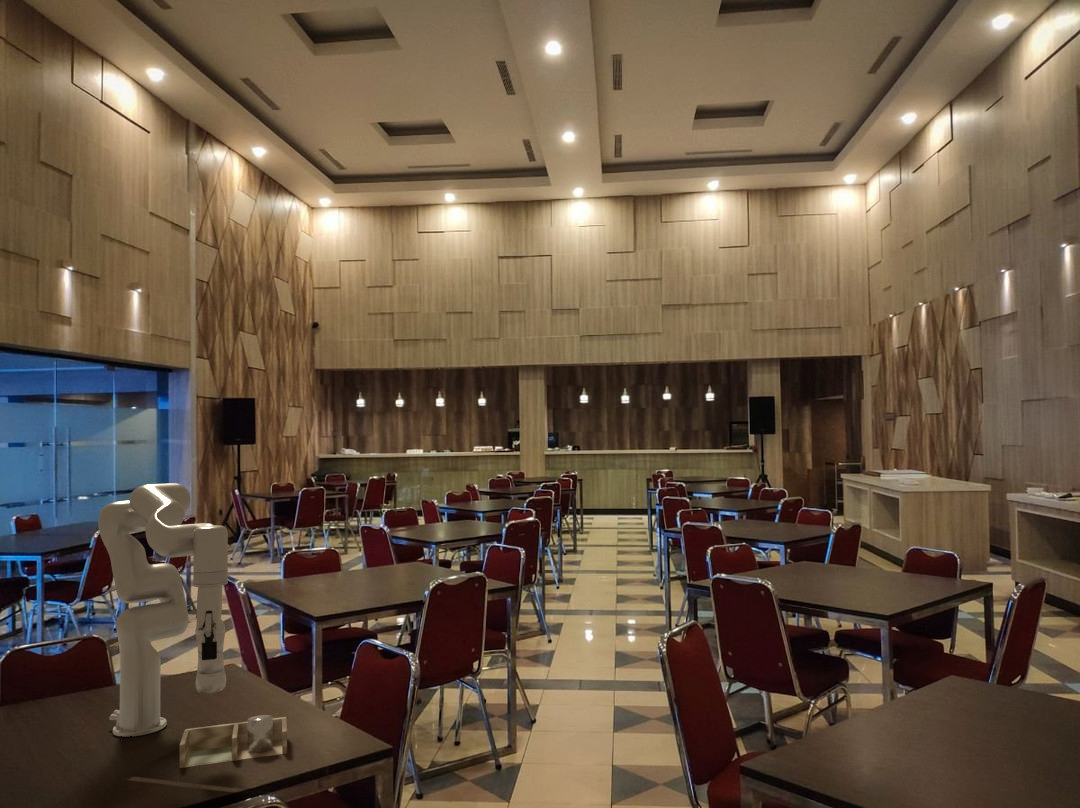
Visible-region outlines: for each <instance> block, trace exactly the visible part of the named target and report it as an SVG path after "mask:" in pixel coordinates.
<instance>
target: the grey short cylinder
mask: <svg viewBox="0 0 1080 808" xmlns="http://www.w3.org/2000/svg"><path fill="white" fill-rule="evenodd" d="M273 718H274V717H273V715H271V714H261V715H260V714H259V715H256V716H251V717H249V718H248V719H247V722H248V752H251V753H259V752H265V751H268V750H270V749H272V748H273Z"/></svg>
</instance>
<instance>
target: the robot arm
mask: <svg viewBox="0 0 1080 808" xmlns="http://www.w3.org/2000/svg"><path fill="white" fill-rule="evenodd" d="M190 505H191V494H190V492H189V490H188V489H187V487H186V486H185V485H183V484H181V483H179V482H177V483H176V482H174V483H171V482H169V483H149V484H143V485H140V486H137V487H136V488H135V489H133V490H132V492H131V493H130V495H129V499H128V500H121V501H119V500H118V501H114V502H110V503H107V504H106V505H104V506H103V507H102V508H101V510H100V512H99V514H98V521H97V522H98V524H97V525H98V531H99V535H100V538H101V541H102V542H103V545H104V547H105V549H106V550H107V553H108V556H109V559H110V565H111V569H112V570H111V571H112V576H113V581H114V586H115V592H116V595H117V597H118V600H119V601H120V602H122V603H124V604H135V603H136V604H137V603H143V602H149V601H154V600H159V601H160V602H156V603H149V604H143V605H136V606H133V607H132V606H131V607H129V608H127V609H125V610H124V611H122V612H121V613H120V614H119V615H118V616H117V619H116V623H115V628H116V635H117V639H118V648H119V709H115V710H114V711H113V712H112V714H110V716H109V717H108V718H109V720H110V721H116V722H115V723H116V724H115V725H114V726H113V728H112V734H113V735H114V736H116V737H121V736H122V737H123V738H129V737H130V736H132V737H139V736H145V735H149V734H152V733H156V732H158V731H160V730H162V729H164V728H165V727H167V724H168V723H167V719H166V718H164V717H161V655H160V654H159V652H158V651H157V649H155V647H153V645H152V643H153V642H155V641H158V640H159V641H161V640H163V639H169V638H174V637H178V636H180V635H182V634H184V633H185V632H186V631H187V629H188V627H189V621H190V620H189V611H188V606H187V602H186V597H185V596H186V595H185V592H184V587H183V586H184V585H183V581H182V578H181V577H182V576H181V574H180V572H179V570H178V568H176V566H175V565H174V564H171V563H167V562H166V563H165V562H164V563H153V564H150V563H149V561H148V559H147V555H146V554H147V553H146V549H145V547H144V546H143V544H142V543H141V542H140V541H139V540H138V539H137V538H136V537H135V536H133V535H132V534H130V533H133V532H145V538H146V541H147V544H148V546H149V547H150V548H151V549H152V550H153V551H155V553H156V554H158V555H159V556H161V557H163V558H171V559H172V558H178V557H179V558H181V557H189V556H193V562H192V563H193V566H192V567H193V574H192V575H193V577H192V578H193V579H192V582H193V585H192V586H193V587H195V588H197V597H196V624H195V625H196V627H195V630H196V629H197V630H200V628H202V626H203V642H202V660H213V659H216V658H217V641H216V629H217V628H218V627H219V624H220V620H221V619H222V612H223V586H225V585H227V584H229V583H228V582H229V581H228V579H229V576H228V575H229V571H228V570H229V569H228V568H229V566H228V565H229V556H228V555H229V554H228V553H229V551H228V550H229V545H228V544H229V543H228V541H229V539H228V538H229V536H228V535H229V533H228V529H227V527H226V526H224V525H221V524H220V525H219V524H217V525H216V524H215V525H214V524H213V523H209V522H200V523H188V524H187V523H186V524H182V523H183V521H184V519H185V514H186V513H187V511H188V509H189V508H190ZM211 626H214V628H211ZM211 631H213V632H211Z"/></svg>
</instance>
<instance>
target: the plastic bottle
mask: <svg viewBox="0 0 1080 808" xmlns="http://www.w3.org/2000/svg"><path fill="white" fill-rule="evenodd" d="M211 628H214V626H211ZM194 631H195V632H194V633H195V639H196V643H197V645H196V646H197V654H198V655H197V657H198V658H197V670H196V672H197V673H196V676H195V689H196V691H197V692H198V693H199V694H208V695H209V694H214V693H219V692H221V691H223V690H224V689H225V687H226V684H227V675H226V670H225V664H224V662H225V661H224V647H225V646H224V645H225V644H224V643H225V636H226V625H225V623H224V621H223V620H222V618H221V620H220V624H219V627H218V628H217V629H216V641H217V658H216V659H213V660H202V642H203V626H202V628H200V630H197V629H196V628H195V629H194ZM211 632H213V631H211Z"/></svg>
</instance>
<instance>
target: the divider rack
mask: <svg viewBox="0 0 1080 808" xmlns="http://www.w3.org/2000/svg"><path fill="white" fill-rule="evenodd" d="M286 754H288V726H287V716H283V717H273V748H272V749H270V750H268V751H265V752H259V753H251V752H248V721H242V722H241V721H240V722H234V723H225V724H217V725H208V726H203V727H202V726H200V727H192V728H186V729H184V730H183V733H182V737H181V739H180V743H179V768H180V769H182V768H188V767H195V766H196V767H197V766H202V765H203V766H204V765H205V766H206V765H211V764H212V765H213V764H218V763H219V764H220V763H225V762H234V761H242V760H247V759H256V758H262V757H263V758H264V757H271V756H277V755H286Z"/></svg>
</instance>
